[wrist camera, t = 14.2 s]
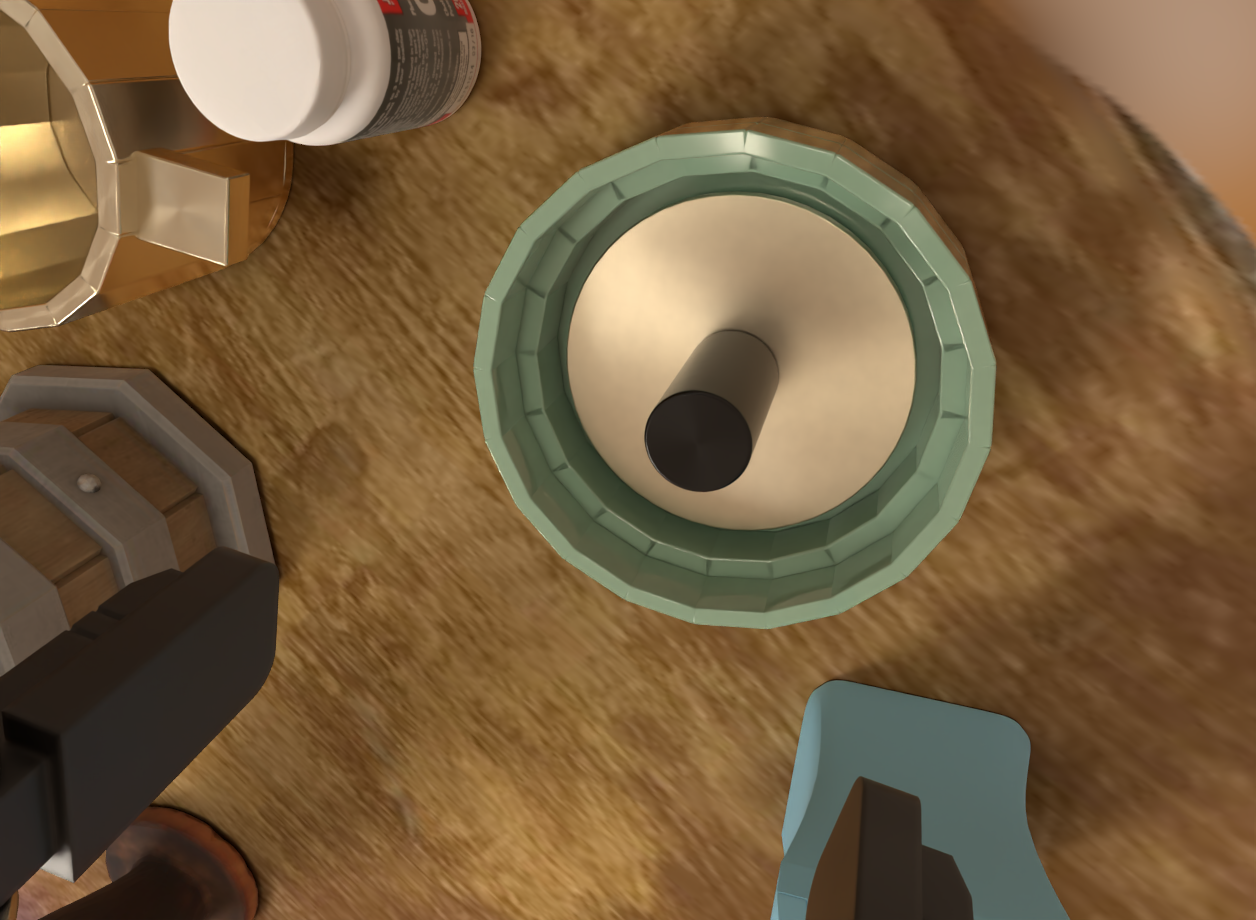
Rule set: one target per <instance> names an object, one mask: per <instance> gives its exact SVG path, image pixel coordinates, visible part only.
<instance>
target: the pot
mask: <svg viewBox="0 0 1256 920" xmlns="http://www.w3.org/2000/svg"><path fill="white" fill-rule="evenodd" d="M172 2H173V0H0V330H2V331H7V332H16V331H24V330H32V329H40V328H48V327H56V326H60V325H63V324H66V323H69V322H72V321H75V320H78V319H81V318H83V317H86V316H89V315H92V314H95V313H98V312H101V311H104V310H107V309H109V308H112V307H115V306H118V305H121V304H124V303H127V302H130V301H133V300H135V299H138V298H141V297H144V296H147V295H150V294H153V293H156V292H159V291H161V290H164V289H167V288H170V287H173V286H176V285H179V284H182V283H185V282H187V281H190V280H193V279H196V278H199V277H202V276H205V275H208V274H211V273H213V272H216V271H219V270H222V269H224V268H227V267H228V266H229V265H232V264H235V263H238V262H241V261H243V260H246V259H247V258H248V254H250V253H251V252H253V251H254V250H255V249H256V248H257V247H258V246H259V245H260V244H262V243H263V242H264V240H265V239H266V238H267V237H268V235H269V234H270V233H271V232H272V230H273V229H274V227H275V225H276V223H277V222H278V220H279V218H280V216H281V214H282V212H283V209H284V206H285V204H286V201H287V198H288V194H289V190H290V186H291V181H292V172H293V163H294V162H293V142H291V141H289V140H274V141H263V142H258V141H250V140H245V139H242V138H238V137H235V136H233V135H231V134H229V133H227V132H225V131H223V130H222V129H220V128H219V127H217V126H216V125H215V124H213V123H212V122H211V121H209V120H208V119H207V118H206V117H205V116H204V115H203V114H202V113H201V112H200V111H199V110H198V108H197V107H196V106H195V105H194V104H193V102H192V100H191V99H190V97H189V96H188V95H187V93H186V91H185V90H184V88H183V86H182V84H181V82H180V79H179V77H178V75H177V72H176V69H175V66H174V63H173V60H172V55H171V51H170V44H169V15H170V10H171V6H172Z"/></svg>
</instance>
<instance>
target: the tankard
mask: <svg viewBox="0 0 1256 920" xmlns="http://www.w3.org/2000/svg"><path fill="white" fill-rule="evenodd" d="M221 546H225V547H229V548H232V549H234V550H237V551H240V552H243V553H245V554H248V555H251V556H254V557H257V558H259V559H262V560H265V561H268V562H271V563H273V564H275V562H274V557H273V553H272V549H271V544H270V540H269V536H268V531H267V527H266V523H265V518H264V514H263V509H262V505H261V501H260V496H259V492H258V488H257V483H256V479H255V475H254V470H253V466H252V463H251V462H250V461H249V460H248V459H247V458H246V457H244V456H243V455H242V454H241V453H240V452H239V451H238V450H237V449H236V448H235V447H233V446H232V445H231V444H230V443H229V442H228V441H227V440H226V439H225V438H224V437H222V436H221V435H220V434H219V433H218V432H217V431H216V430H215V429H214V428H213V427H211V426H210V425H209V424H208V423H207V422H206V421H205V420H204V419H203V418H202V417H200V416H199V415H198V414H197V413H196V412H195V411H194V410H193V409H192V408H191V407H190V406H188V405H187V404H186V403H185V402H184V401H183V400H182V399H181V398H180V397H179V396H177V395H176V394H175V393H174V392H173V391H172V390H171V389H170V388H169V387H168V386H166V385H165V384H164V383H163V382H162V381H161V380H160V379H159V378H158V377H157V376H155V375H154V374H153V373H152V372H151V371H150V370H149V369H131V368H105V367H80V366H55V365H37V366H35V367H32V368H30V369H27V370H24V371H22V372H19V373H17V374H14V375H12V376H11V378H10V380H9V382H8V384H7V386H6V388H5V389H4V391H3V393H2V395H1V397H0V677H1V676H2V675H4V674H5V673H7V672H8V671H9V670H11V669H12V668H13V667H15V666H16V665H18V664H19V663H20V662H22V661H23V660H25V659H26V658H27V657H29V656H30V655H31V654H33V653H34V652H36V651H37V650H38V649H40V648H41V647H43V646H44V645H45V644H47V643H48V642H49V641H51V640H52V639H54V638H55V637H56V636H58V635H59V634H61V633H62V632H63V631H65V630H68V631H70V630H71V628H72V625H73V624H74V623H76V622H77V621H79V620H80V619H81V618H83V617H84V616H85V615H87V614H88V613H90V612H91V611H95V612H96V611H97V610H98V607H99V605H101V604H102V603H104V602H105V601H106V600H108V599H109V598H110V597H112V596H113V595H115V594H116V593H117V592H119V591H120V590H122V589H123V588H124V587H126V586H127V585H128V584H130V583H132V582H135V581H138V580H140V579H143V578H146V577H149V576H151V575H154V574H157V573H160V572H162V571H165V570H168V569H170V568H172V569H175V570H178V571H181V572H184V571H185V570H187V569H188V568H189V567H191V566H192V565H193V564H195V563H196V562H197V561H199V560H200V559H201V558H203V557H204V556H205V555H207V554H208V553H209V552H210V551H212V550H214V549H215V548H217V547H221Z"/></svg>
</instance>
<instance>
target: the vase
mask: <svg viewBox="0 0 1256 920" xmlns="http://www.w3.org/2000/svg"><path fill="white" fill-rule="evenodd" d="M1029 759H1030V740H1029V737H1028V735H1027V734H1026V733H1025V731H1024V730H1023V729H1022V727H1021V726H1020V725H1019V724H1018V723H1017V722H1016V721H1014V720H1012V719H1010V718H1008V717H1005V716H1002V715H999V714H995V713H991V712H987V711H983V710H978V709H974V708H969V707H965V706H960V705H955V704H951V703H946V702H942V701H937V700H932V699H928V698H923V697H919V696H914V695H909V694H905V693H900V692H896V691H891V690H886V689H882V688H877V687H873V686H868V685H863V684H859V683H854V682H849V681H842V680H834V681H829V682H827V683H825V684H823V685H822V686H820V687H818V688H817V689H815V690H814V691H813V693H812V694H811V696H810V698H809V700H808V702H807V706H806V709H805V713H804V717H803V722H802V727H801V732H800V738H799V743H798V748H797V754H796V759H795V765H794V770H793V776H792V781H791V786H790V792H789V797H788V803H787V808H786V813H785V819H784V824H783V830H782V841H783V849H784V858H783V860H782V861H781V866H780V871H779V876H778V882H777V887H776V892H775V898H774V903H773V908H772V914H771V919H770V920H805V919H806V911H807V904H808V898H809V894H810V889H811V885H812V881H813V878H814V874H815V871H816V868H817V865H818V862H819V860H820V857H821V855H822V853H823V850H824V848H825V846H826V844H827V842H828V839H829V837H830V835H831V833H832V830H833V828H834V826H835V824H836V822H837V819H838V817H839V815H840V813H841V811H842V808H843V806H844V804H845V802H846V799H847V797H848V795H849V793H850V791H851V788H852V786H853V784H854V782H855V781H856V779H857V778H858V777H859V776H862V777H865V778H868V779H870V780H873V781H876V782H879V783H882V784H884V785H887V786H890V787H893V788H896V789H898V790H901V791H904V792H907V793H909V794H912V795H915V796H918V797H919V799H920V802H921V825H922V845H925V846H927V847H930V848H933V849H936V850H938V851H941V852H944V853H947V854H949V855H952V856H953V858H954V860H955V862H956V865H957V867H958V869H959V871H960V873H961V875H962V877H963V879H964V881H965V884H966V886H967V888H968V890H969V892H970V894H971V896H972V904H973V918H974V920H1070V919H1069V917H1068V915H1067V913H1066V911H1065V910H1064V908H1063V906H1062V904H1061V903H1060V901H1059V899H1058V897H1057V895H1056V893H1055V891H1054V889H1053V887H1052V885H1051V883H1050V881H1049V879H1048V877H1047V875H1046V873H1045V870H1044V868H1043V866H1042V864H1041V861H1040V859H1039V857H1038V854H1037V852H1036V849H1035V846H1034V843H1033V840H1032V837H1031V834H1030V831H1029V828H1028V823H1027V816H1026V782H1027V774H1028V766H1029Z"/></svg>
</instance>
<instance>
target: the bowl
mask: <svg viewBox="0 0 1256 920" xmlns="http://www.w3.org/2000/svg"><path fill="white" fill-rule="evenodd" d="M733 191H739V192H755V193H764V194H769V195H774V196H779V197H784V198H787V199H790V200H793V201H796V202H798V203H801V204H804V205H807V206H809V207H811V208H813V209H815V210H817V211H819V212H821V213H823V214H825V215H827V216H829V217H831V218H832V219H834V220H835V221H837V222H838V223H840V224H841V225H843V226H844V227H845V228H847V229H848V230H850V231H851V232H852V233H853V234H854V235H856V236H857V237H858V238H859V239H860V240H861V241H862V242H863V243H864V244H865V245H866V246H868V247H869V248H870V250H871V251H872V252H873V253H874V254H875V256H876V257H877V258H878V259H879V260H880V262H881V263H882V264H883V265H884V266H885V268H886V270H887V271H888V273H889V274H890V276H891V278H892V279H893V281H894V282H895V284H896V286H897V287H898V289H899V292H900V294H901V296H902V299H903V301H904V303H905V305H906V308H907V310H908V314H909V317H910V321H911V324H912V328H913V332H914V338H915V346H916V353H917V382H916V389H915V395H914V402H913V406H912V410H911V413H910V416H909V419H908V423H907V426H906V428H905V430H904V433H903V435H902V437H901V439H900V441H899V443H898V445H897V447H896V449H895V450H894V452H893V453H892V455H891V456H890V458H889V459H888V461H887V462H886V464H885V465H884V466H883V468H882V469H881V470H880V471H879V472H878V473H877V474H876V476H875V477H874V478H873V479H872V480H871V481H870V482H869V483H868V484H867V485H866V486H865V487H863V488H862V489H861V490H860V491H859V492H858V493H857V494H855V495H854V496H853V497H851V498H850V499H848V500H847V501H845V502H844V503H842V504H841V505H839V506H838V507H836V508H834V509H832V510H830V511H828V512H826V513H824V514H822V515H820V516H818V517H816V518H813V519H810V520H807V521H804V522H801V523H798V524H795V525H790V526H786V527H781V528H776V529H766V530H755V531H751V530H730V529H723V528H716V527H710V526H706V525H703V524H699V523H695V522H691V521H689V520H686V519H684V518H681V517H679V516H676V515H673V514H671V513H669V512H667V511H665V510H664V509H662V508H660V507H658V506H656V505H654V504H652V503H651V502H649V501H648V500H646V499H645V498H644V497H642V496H641V495H639V494H638V493H636V492H635V491H634V490H633V489H631V488H630V487H629V486H628V485H627V484H626V483H625V482H623V481H622V480H621V479H620V478H619V477H618V476H617V475H616V474H615V473H614V472H613V471H612V469H611V468H610V467H609V466H608V465H607V464H606V463H605V462H604V460H603V459H602V457H601V456H600V455H599V453H598V452H597V450H596V449H595V448H594V446H593V445H592V443H591V441H590V439H589V437H588V436H587V434H586V432H585V430H584V428H583V426H582V424H581V421H580V419H579V416H578V414H577V412H576V409H575V406H574V402H573V398H572V395H571V391H570V387H569V380H568V372H567V338H568V330H569V323H570V319H571V316H572V312H573V308H574V304H575V302H576V299H577V297H578V295H579V292H580V290H581V287H582V285H583V283H584V281H585V280H586V278H587V276H588V274H589V273H590V271H591V269H592V268H593V266H594V264H595V263H596V262H597V261H598V259H599V258H600V257H601V256H602V254H603V253H604V252H605V251H606V249H607V248H608V247H609V246H610V245H611V244H612V243H613V242H614V241H615V240H616V239H617V238H619V237H620V236H621V235H622V234H623V233H624V232H625V231H626V230H628V229H629V228H631V227H632V226H633V225H635V224H636V223H638V222H639V221H640V220H642V219H643V218H645V217H646V216H648V215H650V214H652V213H654V212H656V211H658V210H659V209H661V208H663V207H665V206H667V205H670V204H673V203H676V202H679V201H681V200H684V199H687V198H691V197H695V196H700V195H705V194H709V193H719V192H733ZM473 367H474V370H473V371H474V377H475V383H476V389H477V395H478V402H479V408H480V414H481V420H482V426H483V432H484V438H485V439H486V440H485V442H486V444H487V446H488V449H489V451H490V453H491V455H492V457H493V459H494V461H495V463H496V465H497V467H498V469H499V471H500V473H501V475H502V478H503V480H504V482H505V484H506V486H507V488H508V490H509V492H510V494H511V496H512V498H513V500H514V502H515V504H516V506H517V507H518V508H519V509H520V511H521V512H522V513H523V514H524V515H525V516H526V517H527V519H528V520H529V521H530V522H531V523H532V524H533V525H534V527H535V528H536V529H537V530H538V531H539V532H540V533H541V535H542V536H543V537H544V538H545V539H546V540H547V541H548V542H549V544H550V545H551V546H552V547H553V548H554V549H555V550H556V552H557V553H558V554H559V555H560V556H561V557H562V558H563V559H565V560H566V561H567V562H568V563H570V564H571V565H573V566H574V567H576V568H577V569H579V570H580V571H582V572H583V573H585V574H586V575H588V576H589V577H591V578H592V579H594V580H595V581H597V582H598V583H600V584H601V585H603V586H604V587H606V588H607V589H609V590H610V591H612V592H613V593H615V594H616V595H618V596H619V597H621V598H622V599H625V600H626V601H629V602H632V603H634V604H637V605H640V606H643V607H646V608H649V609H652V610H655V611H658V612H661V613H663V614H666V615H669V616H672V617H675V618H678V619H681V620H684V621H687V622H690V623H694V624H700V625H714V626H729V627H743V628H758V629H767V628H768V629H771V628H775V627H780V626H785V625H790V624H795V623H799V622H804V621H809V620H814V619H818V618H823V617H828V616H833V615H838V614H840V613H843V612H844V611H846V610H848V609H850V608H852V607H854V606H855V605H857V604H859V603H861V602H863V601H865V600H866V599H868V598H870V597H872V596H874V595H876V594H877V593H879V592H881V591H883V590H885V589H886V588H888V587H890V586H892V585H894V584H896V583H897V582H899V581H901V580H903V579H905V578H906V577H908V576H909V575H910V574H911V573H912V571H913V570H914V569H915V568H916V567H917V566H918V565H919V564H920V563H921V562H922V561H923V560H924V559H925V558H926V556H927V555H928V554H929V553H930V552H931V551H932V550H933V549H934V548H935V547H936V546H937V545H938V544H939V543H940V541H941V540H942V539H943V538H944V537H945V536H946V535H947V534H948V533H949V532H950V531H951V530H952V529H953V528H954V527H955V525H956V524H957V523H958V522H959V520H960V519H961V517H962V514H963V512H964V510H965V507H966V505H967V503H968V501H969V498H970V496H971V494H972V491H973V489H974V487H975V485H976V482H977V480H978V478H979V475H980V473H981V471H982V469H983V466H984V464H985V462H986V459H987V457H988V455H989V453H990V450H991V445H992V436H993V419H994V402H995V385H996V368H997V366H996V359H995V355H994V351H993V347H992V343H991V339H990V335H989V331H988V327H987V323H986V319H985V316H984V313H983V309H982V306H981V303H980V299H979V296H978V293H977V290H976V286H975V283H974V280H973V276H972V273H971V270H970V267H969V263H968V260H967V257H966V253H965V250H964V249H963V247H962V245H961V243H960V242H959V241H958V239H957V238H956V237H955V235H954V234H953V233H952V231H951V230H950V228H949V227H948V226H947V224H946V223H945V222H944V220H943V219H942V218H941V216H940V215H939V214H938V212H937V211H936V210H935V208H934V207H933V206H932V204H931V203H930V202H929V200H928V199H927V198H926V196H925V195H924V194H923V192H922V191H921V190H920V188H919V187H918V186H917V185H916V184H914V182H913V181H912V180H910V179H909V178H907V177H906V176H905V175H903V174H902V173H900V172H899V171H897V170H896V169H894V168H893V167H891V166H890V165H888V164H887V163H885V162H884V161H882V160H881V159H879V158H878V157H876V156H875V155H873V154H872V153H870V152H869V151H867V150H866V149H864V148H863V147H861V146H860V145H858V144H857V143H855V142H854V141H852V140H851V139H848V138H847V139H846V137H845V136H842V135H838V134H834V133H830V132H826V131H822V130H819V129H815V128H811V127H807V126H803V125H799V124H796V123H792V122H788V121H784V120H780V119H776V118H773V117H768V118H767V117H766V116H764V117H752V118H739V119H726V120H714V121H701V122H690V123H688V124H684V125H681V126H679V127H676V128H674V129H671V130H669V131H667V132H664V133H662V134H659V135H657V136H654V137H652V138H650V139H647V140H645V141H643V142H641V143H638V144H636V145H634V146H632V147H629V148H627V149H625V150H623V151H620V152H618V153H616V154H613V155H611V156H609V157H607V158H604V159H602V160H600V161H598V162H595V163H593V164H591V165H588V166H586V167H584V168H582V169H580V170H579V171H577V172H575V173H574V174H573V175H572V176H571V177H570V178H569V179H568V180H567V181H566V182H565V183H564V184H563V185H562V186H561V187H560V188H558V189H557V190H556V191H555V192H554V193H553V194H552V195H551V196H550V197H549V198H548V199H547V200H546V201H545V202H544V203H543V204H542V205H540V206H539V207H538V208H537V209H536V210H535V211H534V212H533V213H532V214H531V215H530V216H529V217H528V218H527V219H526V220H525V221H524V222H522V223H521V225H520V227H518V229H517V231H516V233H515V235H514V237H513V239H512V240H511V242H510V244H509V246H508V248H507V250H506V252H505V254H504V256H503V258H502V260H501V262H500V264H499V266H498V268H497V270H496V272H495V274H494V276H493V277H492V279H491V281H490V283H489V285H488V287H487V289H486V291H485V295H484V297H483V304H482V311H481V318H480V324H479V331H478V338H477V345H476V351H475V358H474V365H473Z"/></svg>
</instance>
